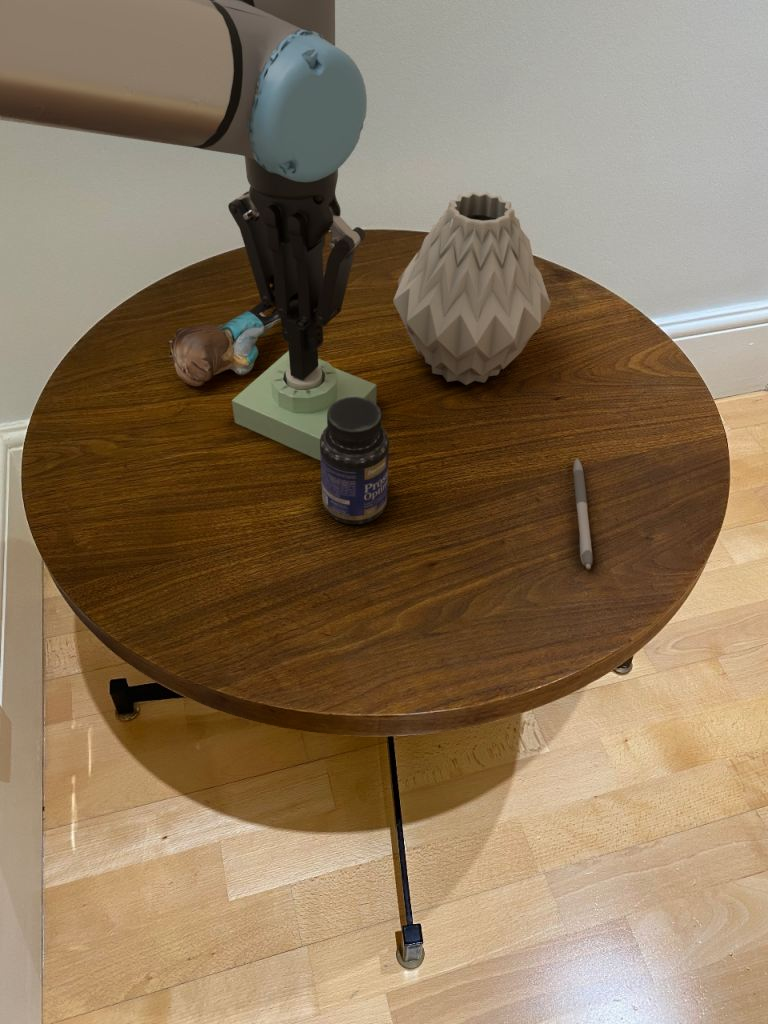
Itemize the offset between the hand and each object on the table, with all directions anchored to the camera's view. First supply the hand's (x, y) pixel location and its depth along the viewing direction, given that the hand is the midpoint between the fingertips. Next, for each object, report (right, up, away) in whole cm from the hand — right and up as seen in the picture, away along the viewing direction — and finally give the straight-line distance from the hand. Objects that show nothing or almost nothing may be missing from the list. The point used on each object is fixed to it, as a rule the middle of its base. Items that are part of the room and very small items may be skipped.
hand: (304, 370), depth 87 cm
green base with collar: (0, -4, +4) cm, 6 cm away
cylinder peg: (0, -2, +2) cm, 2 cm away
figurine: (-8, +3, +11) cm, 14 cm away
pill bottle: (+5, -13, -4) cm, 15 cm away
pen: (+26, -15, -5) cm, 31 cm away
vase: (+17, +3, +11) cm, 20 cm away
